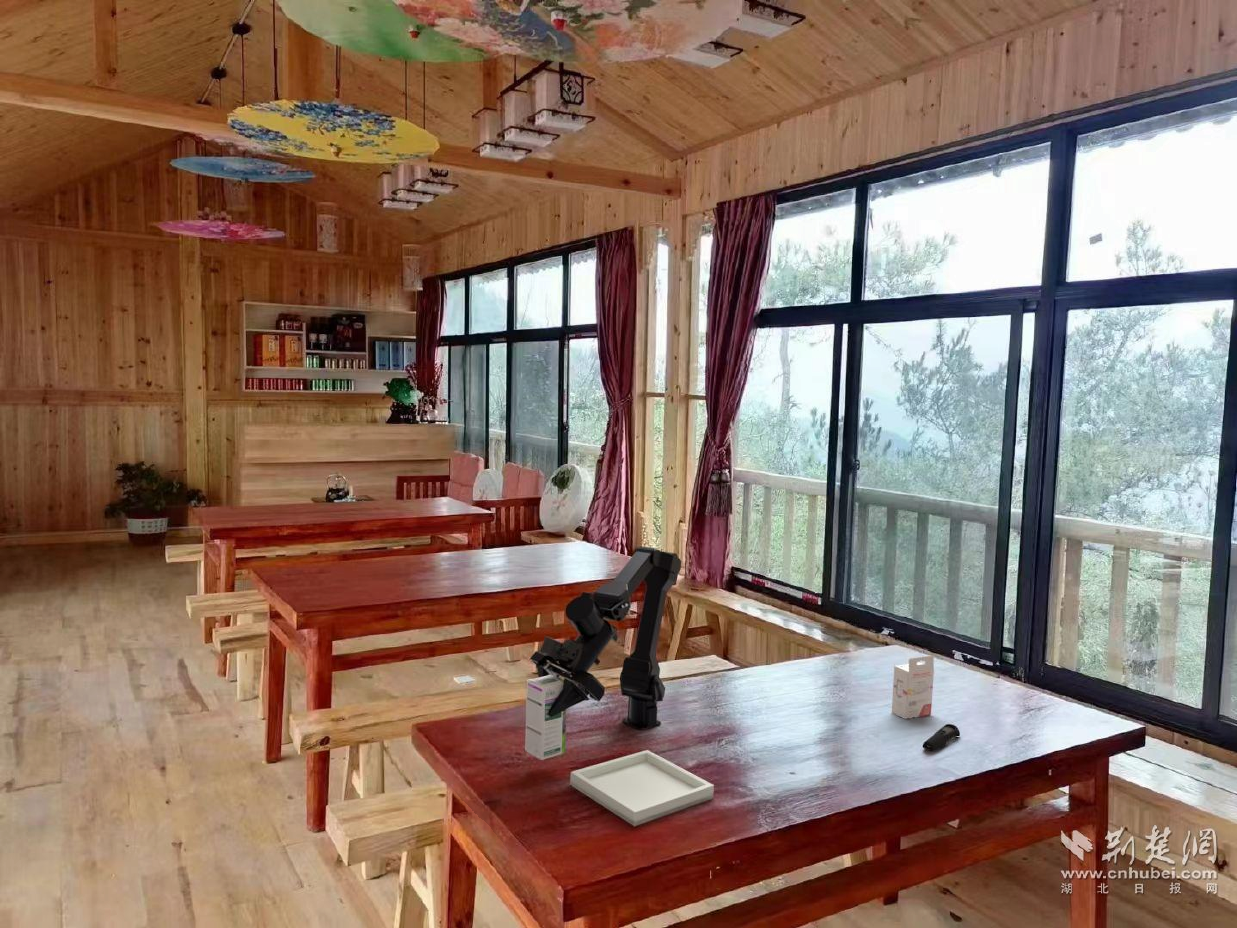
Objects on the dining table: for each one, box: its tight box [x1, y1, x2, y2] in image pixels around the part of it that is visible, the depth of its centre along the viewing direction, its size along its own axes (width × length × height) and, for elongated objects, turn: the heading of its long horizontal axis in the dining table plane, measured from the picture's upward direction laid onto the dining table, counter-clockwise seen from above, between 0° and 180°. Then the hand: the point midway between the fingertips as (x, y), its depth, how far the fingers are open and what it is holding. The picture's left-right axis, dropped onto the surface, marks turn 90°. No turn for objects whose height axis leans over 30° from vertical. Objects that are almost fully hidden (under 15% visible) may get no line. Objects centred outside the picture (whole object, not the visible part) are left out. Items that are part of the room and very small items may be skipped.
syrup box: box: [524, 674, 567, 761], centre depth 169 cm, size 6×6×14 cm
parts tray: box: [569, 749, 715, 827], centre depth 163 cm, size 19×19×2 cm
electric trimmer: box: [922, 723, 961, 752], centre depth 194 cm, size 4×16×3 cm, turn 138°
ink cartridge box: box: [891, 655, 935, 720], centre depth 211 cm, size 9×5×15 cm, turn 117°
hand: (540, 710), depth 168 cm, fingers closed on syrup box, 6 cm apart
